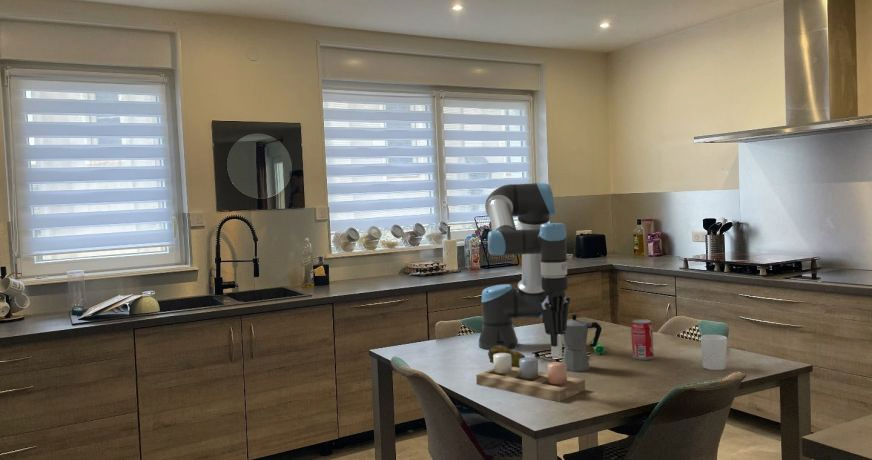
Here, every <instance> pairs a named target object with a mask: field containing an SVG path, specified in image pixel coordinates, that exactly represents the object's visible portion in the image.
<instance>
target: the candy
mask: <svg viewBox="0 0 872 460" xmlns="http://www.w3.org/2000/svg"><path fill="white" fill-rule="evenodd" d="M593 342H594V338H592V339H591V341H590V342H589V344H593ZM592 348H593V351H594V353H596V354H597V355H601V354H602V355H605V353H607V351H606V350H607V349H605V347H604V346H603V343H602V342H601V341H600V340H599V339H598V342H597V345H596V347H592Z"/></svg>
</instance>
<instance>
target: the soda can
mask: <svg viewBox="0 0 872 460" xmlns="http://www.w3.org/2000/svg"><path fill="white" fill-rule="evenodd" d="M653 327H654V326H653V324H652V320H650V319H645V318H643V319H641V318H640V319H634V320H632V323H631V327H630V330H631V355H632V357H633V358H634V359H635V360H639V361H650V360H652V359H653V357H654V356H655V353H654V331H653V330H654V329H653Z"/></svg>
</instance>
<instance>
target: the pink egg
mask: <svg viewBox="0 0 872 460" xmlns="http://www.w3.org/2000/svg"><path fill="white" fill-rule="evenodd" d="M546 365H547V366H546V369H547V371H546V373H547V374H548V382H549V383H552V384H563V383H566V382H567V377H568V371H567V364H566V363H563V362H561V361H550V362H548V363H547V364H546Z"/></svg>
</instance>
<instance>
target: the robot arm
mask: <svg viewBox="0 0 872 460" xmlns="http://www.w3.org/2000/svg"><path fill="white" fill-rule="evenodd" d="M553 194H554V193H553V190H552V188H551V185H550V184H549V183H546V182H545V183H541V182H540V183H539V182H536V183H516V184H515V183H513V184H512V183H510V184H504V185H501V186H500V187H498V188H496V189H495V190H493V191H492V192H491V193H490V194H489V195H488V197H487V198H486V201H485V207H484V208H485V213H486V215H487V217H489V219H490V225H491V230H490V231H489V232H488V234H487V246H488V247H487V248H488V253H489V255H492V256H510V255H512V256H513V255H521V280H519V282H518V283H517V287H514V288H513V287H512V284H509V283H508V284H504V283H503V284H496V285H491V286H489V287H488V286H487V287H486V288H484V289H483V290H482V291H481V303H482V304H481V305H482V306H481V309H482V311H481V312H482V318H481V319H482V328H481V331H480V335H479V339H478V346H479V348H481V349H484V350H488V351H489V350H490V348H492V347H494V346H504V347H507V348H508V349H510V350H512V349H514V348H517V347H519V340H518V337H517V334H516V331H515V328H514V322H513V321H514V319H541V318H542V320H543V327H544V331H545V334H547V335H549V336H550V347H551V348H550V352H551V358H559V359H560V358H563V337H562V334H565V332H563V331H566V326H567V321H568V314H569V306H570V302H571V298H570V297H567V296H566V292H565V291H567V290H568V286H569V285H568V280H569V279H568V277H567V275H568V263H567V261H568V259H567V258H568V256H567V254H568V253H567V235H568V234H567V229H566V227H567V226H566V225H565V224H564V223H562V222H551V223H550V220H551V217H552V216H554V215H555V213H556V209H555V208H556V207H555V200H554V195H553ZM514 217H515V218H516V217H517V220H518V223H520V224H521V229H517V228H516V223H515V220H514Z"/></svg>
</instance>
